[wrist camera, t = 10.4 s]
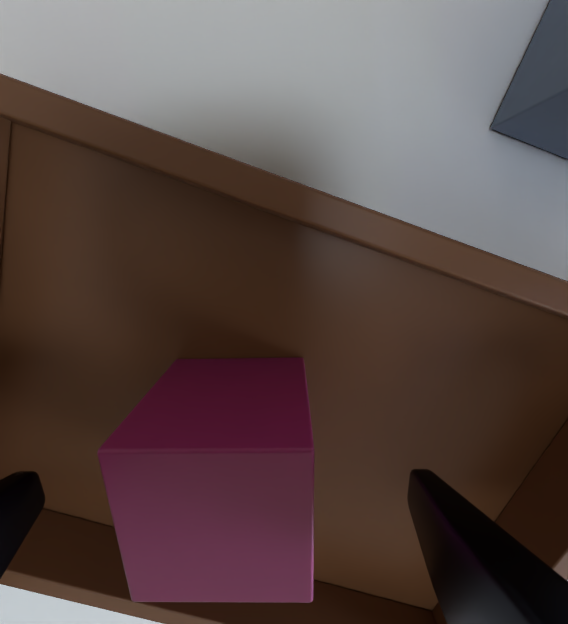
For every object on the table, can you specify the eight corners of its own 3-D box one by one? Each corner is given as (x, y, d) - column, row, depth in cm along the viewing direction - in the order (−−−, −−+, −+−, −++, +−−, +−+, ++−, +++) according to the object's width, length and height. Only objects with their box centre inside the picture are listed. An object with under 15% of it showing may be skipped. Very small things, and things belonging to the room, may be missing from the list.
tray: (635, 319, 9) (764, 352, 7) (432, 607, 13) (467, 698, 10) (8, 92, 8) (-124, 27, 5) (-19, 487, 11) (-105, 560, 9)
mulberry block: (303, 356, 9) (315, 449, 5) (304, 462, 10) (313, 604, 6) (176, 357, 9) (94, 451, 5) (189, 463, 10) (130, 603, 6)
